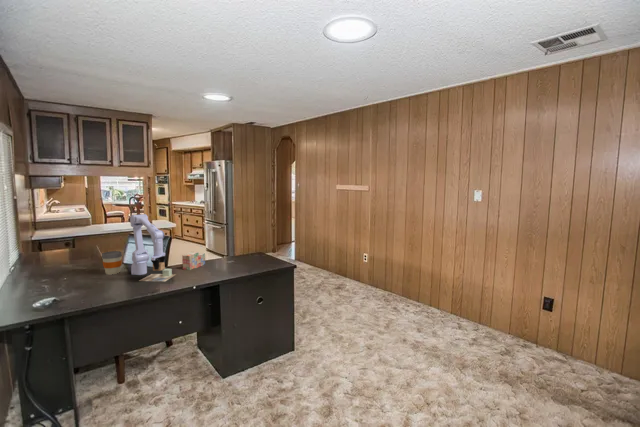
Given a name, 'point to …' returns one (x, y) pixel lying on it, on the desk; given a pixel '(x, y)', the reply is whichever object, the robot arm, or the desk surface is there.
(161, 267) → the oak block
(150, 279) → the baseplate
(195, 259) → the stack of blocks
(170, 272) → the sage block
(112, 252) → the reusable coffee cup
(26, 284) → the desk surface
